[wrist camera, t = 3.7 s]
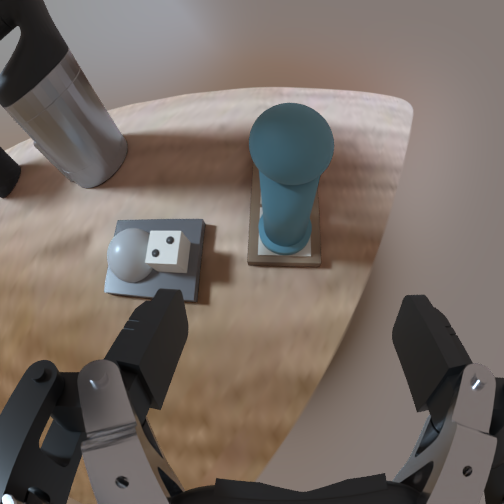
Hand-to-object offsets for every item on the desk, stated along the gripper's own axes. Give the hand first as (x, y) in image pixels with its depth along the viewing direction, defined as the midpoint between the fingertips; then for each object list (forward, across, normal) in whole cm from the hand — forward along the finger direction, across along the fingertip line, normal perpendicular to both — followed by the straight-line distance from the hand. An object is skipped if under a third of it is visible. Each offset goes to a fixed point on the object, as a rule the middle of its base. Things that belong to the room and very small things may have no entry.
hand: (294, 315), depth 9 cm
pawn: (+16, 0, +4) cm, 17 cm away
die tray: (+17, +13, +8) cm, 22 cm away
